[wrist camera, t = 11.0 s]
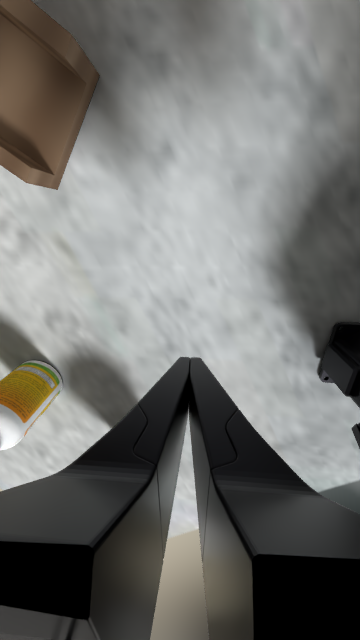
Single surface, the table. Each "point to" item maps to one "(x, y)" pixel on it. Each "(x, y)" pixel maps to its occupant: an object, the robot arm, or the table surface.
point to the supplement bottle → (25, 399)
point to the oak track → (40, 93)
